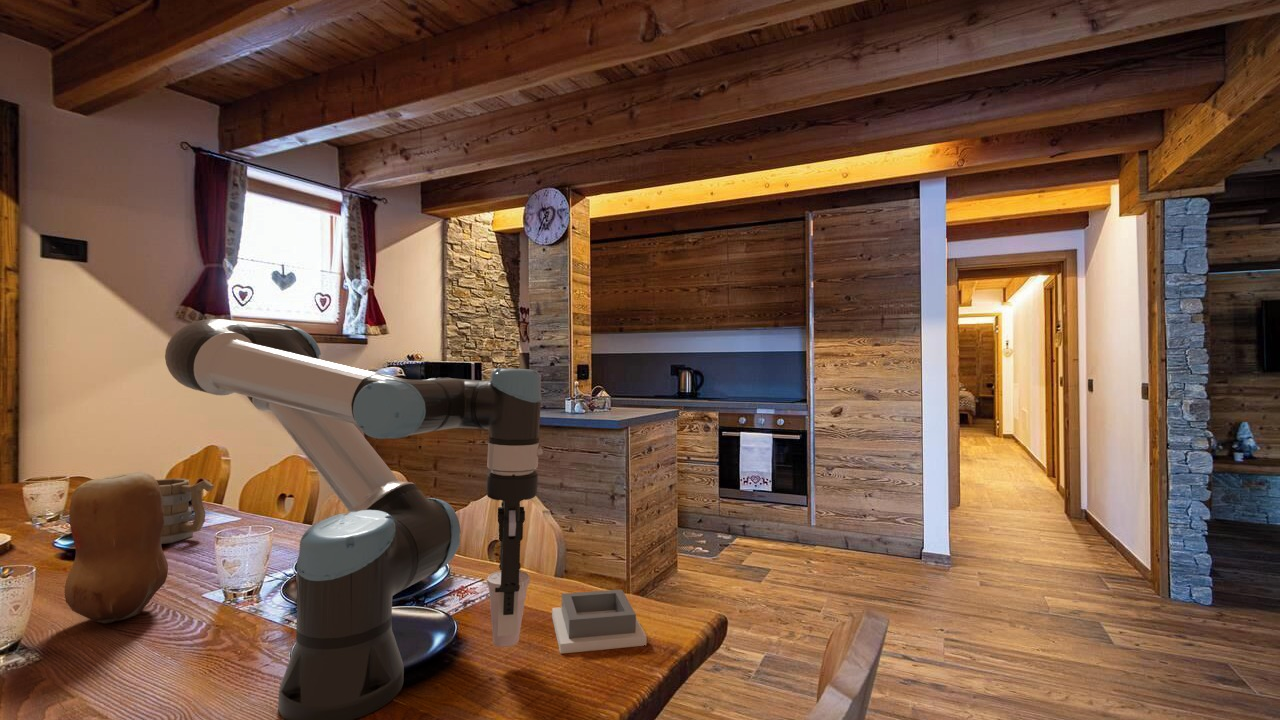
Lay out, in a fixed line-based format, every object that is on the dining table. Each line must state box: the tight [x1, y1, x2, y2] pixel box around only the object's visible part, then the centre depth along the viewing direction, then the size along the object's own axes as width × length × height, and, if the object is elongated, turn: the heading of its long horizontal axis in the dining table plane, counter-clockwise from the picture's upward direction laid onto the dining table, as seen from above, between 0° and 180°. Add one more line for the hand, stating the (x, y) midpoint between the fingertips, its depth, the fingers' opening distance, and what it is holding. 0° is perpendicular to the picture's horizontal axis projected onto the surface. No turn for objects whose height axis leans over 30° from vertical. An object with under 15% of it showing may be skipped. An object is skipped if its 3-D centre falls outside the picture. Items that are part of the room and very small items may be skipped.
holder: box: [551, 588, 648, 655], centre depth 99 cm, size 14×14×4 cm
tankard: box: [156, 478, 215, 545], centre depth 145 cm, size 20×13×15 cm, turn 80°
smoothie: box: [486, 570, 531, 648], centre depth 87 cm, size 6×6×14 cm
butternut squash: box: [64, 471, 169, 625], centre depth 100 cm, size 14×13×25 cm
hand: (506, 623), depth 87 cm, fingers closed on smoothie, 6 cm apart
